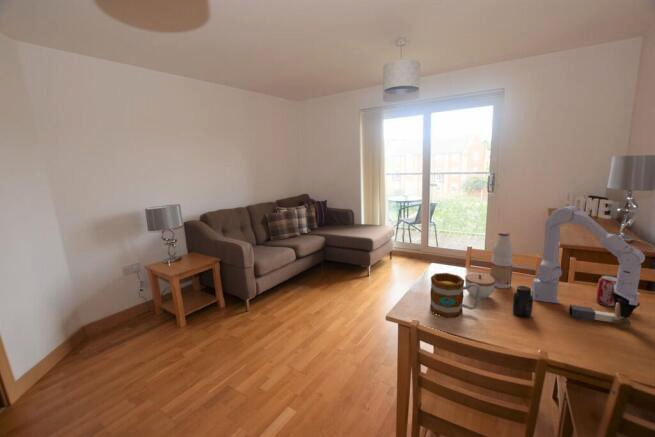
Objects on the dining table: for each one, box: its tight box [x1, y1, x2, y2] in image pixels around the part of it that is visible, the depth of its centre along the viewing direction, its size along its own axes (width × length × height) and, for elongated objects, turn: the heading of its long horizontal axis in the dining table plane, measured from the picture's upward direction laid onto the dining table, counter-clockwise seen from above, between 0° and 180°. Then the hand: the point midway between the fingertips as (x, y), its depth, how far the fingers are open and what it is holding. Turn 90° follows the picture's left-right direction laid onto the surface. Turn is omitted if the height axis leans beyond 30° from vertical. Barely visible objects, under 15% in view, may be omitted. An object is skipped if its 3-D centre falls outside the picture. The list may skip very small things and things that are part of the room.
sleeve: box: [568, 304, 596, 323], centre depth 117 cm, size 7×4×4 cm, turn 63°
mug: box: [429, 272, 480, 319], centre depth 125 cm, size 20×14×15 cm
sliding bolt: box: [594, 302, 624, 323], centre depth 113 cm, size 10×3×8 cm, turn 63°
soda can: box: [595, 275, 617, 307], centre depth 126 cm, size 7×7×12 cm
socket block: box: [607, 311, 632, 329], centre depth 112 cm, size 4×6×3 cm
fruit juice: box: [489, 231, 515, 289], centre depth 147 cm, size 9×9×28 cm
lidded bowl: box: [464, 272, 495, 300], centre depth 138 cm, size 13×13×11 cm
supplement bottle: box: [512, 285, 534, 319], centre depth 120 cm, size 7×7×12 cm
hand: (621, 313), depth 111 cm, fingers open, 4 cm apart
